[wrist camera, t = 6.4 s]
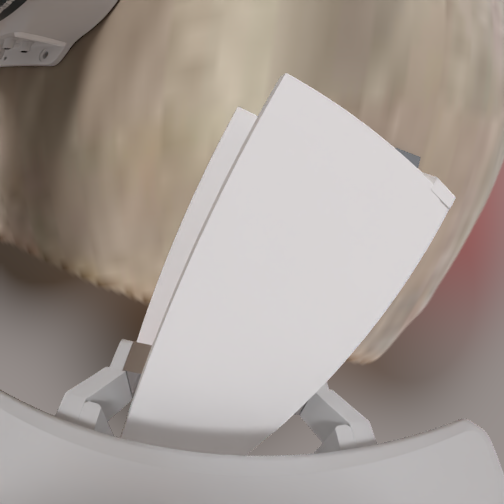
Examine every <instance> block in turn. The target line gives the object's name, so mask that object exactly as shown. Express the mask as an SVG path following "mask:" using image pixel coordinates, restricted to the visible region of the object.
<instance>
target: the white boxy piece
mask: <svg viewBox="0 0 504 504" xmlns="http://www.w3.org/2000/svg"><path fill="white" fill-rule="evenodd" d="M455 198H456V197H455V196H454V195H453V194H452V193H451V192H450V191H449V189H448V188H447V187H446V186H445V185H444V184H443V183H442V182H441V181H440V180H439V179H438V178H437V177H434V176H432V175H429V174H426V173H423V172H421V171H420V170H419V169H418V168H417V167H415V166H414V165H413V164H412V163H411V162H410V161H409V160H408V159H407V158H406V157H404V156H403V155H402V154H401V153H400V152H399V151H398V150H396V149H395V148H394V147H393V146H392V145H391V144H389V143H388V142H387V141H386V140H384V139H383V138H382V137H381V136H380V135H378V134H377V133H376V132H374V131H373V130H372V129H371V128H369V127H368V126H367V125H365V124H364V123H363V122H361V121H360V120H359V119H357V118H356V117H355V116H353V115H352V114H350V113H349V112H348V111H346V110H345V109H343V108H342V107H340V106H339V105H338V104H336V103H335V102H333V101H332V100H330V99H329V98H327V97H326V96H324V95H322V94H321V93H319V92H318V91H316V90H314V89H313V88H311V87H310V86H308V85H306V84H305V83H303V82H301V81H300V80H298V79H296V78H294V77H293V76H291V75H289V74H287V73H285V74H283V75H282V76H280V78H279V80H278V82H277V83H276V85H275V87H274V89H273V90H272V92H271V94H270V96H269V97H268V99H267V101H266V103H265V104H264V106H263V108H262V110H261V112H260V113H259V115H258V116H256V115H254V114H252V113H250V112H248V111H246V110H244V109H242V108H240V107H237V109H236V111H235V113H234V115H233V117H232V118H231V120H230V122H229V124H228V126H227V128H226V130H225V132H224V134H223V136H222V137H221V139H220V141H219V143H218V145H217V147H216V149H215V151H214V153H213V155H212V157H211V159H210V161H209V163H208V166H207V168H206V170H205V172H204V174H203V176H202V178H201V180H200V182H199V185H198V187H197V189H196V191H195V193H194V195H193V198H192V200H191V202H190V204H189V206H188V209H187V211H186V213H185V216H184V218H183V220H182V222H181V225H180V227H179V230H178V232H177V234H176V237H175V239H174V241H173V244H172V246H171V249H170V251H169V254H168V256H167V259H166V261H165V264H164V266H163V269H162V272H161V274H160V277H159V279H158V282H157V285H156V287H155V290H154V293H153V295H152V298H151V301H150V304H149V307H148V309H147V312H146V315H145V318H144V321H143V324H142V327H141V330H140V333H139V336H138V339H137V342H139V343H143V344H148V345H152V347H151V350H150V352H149V355H148V358H147V360H146V363H145V366H144V368H143V371H142V374H141V377H140V380H139V382H138V385H137V388H136V391H135V394H134V397H133V400H132V403H131V406H130V409H129V412H128V415H127V418H126V421H125V424H124V427H123V430H122V433H121V437H120V438H123V439H127V440H131V441H135V442H140V443H144V444H149V445H154V446H159V447H165V448H171V449H177V450H184V451H192V452H201V453H211V454H223V455H243V456H246V455H247V454H248V453H250V452H251V451H252V450H253V449H255V448H256V447H257V446H258V445H260V444H261V443H262V442H263V441H264V440H265V439H267V438H268V437H269V436H270V435H271V434H273V433H274V432H275V431H276V430H277V429H278V428H279V427H280V426H281V425H283V424H284V423H285V422H286V421H287V420H288V419H289V418H290V417H291V416H292V415H294V414H295V413H296V412H297V411H298V410H299V409H300V408H301V407H302V406H303V405H304V404H305V403H306V402H307V401H308V400H309V399H310V398H311V397H312V396H313V395H314V394H315V393H316V392H317V391H318V390H319V389H320V388H321V387H322V386H323V385H324V384H325V383H326V382H327V381H328V379H329V378H330V377H331V376H332V375H333V374H334V373H335V372H336V371H337V370H338V369H339V367H340V366H341V365H342V364H343V363H344V362H345V361H346V360H347V358H348V357H349V356H350V355H351V354H352V353H353V351H354V350H355V349H356V348H357V347H358V345H359V344H360V343H361V342H362V341H363V339H364V338H365V337H366V336H367V334H368V333H369V332H370V331H371V329H372V328H373V327H374V326H375V324H376V323H377V322H378V320H379V319H380V318H381V316H382V315H383V314H384V312H385V311H386V310H387V308H388V307H389V306H390V304H391V303H392V301H393V300H394V299H395V297H396V296H397V294H398V293H399V292H400V290H401V289H402V287H403V286H404V284H405V283H406V281H407V280H408V278H409V277H410V275H411V274H412V272H413V271H414V269H415V268H416V266H417V264H418V263H419V261H420V260H421V258H422V256H423V255H424V253H425V251H426V250H427V248H428V246H429V245H430V243H431V241H432V240H433V238H434V236H435V234H436V233H437V231H438V229H439V227H440V225H441V224H442V222H443V220H444V218H445V216H446V214H447V212H448V210H449V209H450V208H451V206H452V204H453V202H454V200H455Z"/></svg>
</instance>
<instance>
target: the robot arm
mask: <svg viewBox="0 0 504 504" xmlns="http://www.w3.org/2000/svg"><path fill="white" fill-rule="evenodd" d="M117 1H118V0H0V67H7V66H55V65H57V64H58V63H59V62H60V61H61V60H62V59H63V57H64V56H65V55H66V53H67V52H68V50H69V49H70V48H71V46H72V45H73V44H74V43H75V42H76V41H77V40H78V39H79V38H80V37H82V36H83V35H84V34H86V33H87V32H88V31H90V30H91V29H92V28H93V27H94V26H95V25H97V24H98V23H99V22H100V21H101V20H102V19H103V18H104V17H105V16H106V15H107V14H108V12H109V11H110V10H111V9H112V8H113V6H114V5H115V4H116V2H117ZM47 54H48V56H47V57H46V55H47ZM151 347H152V345H148V344H143V343H139V342H133V341H129V340H124V339H122V340H121V342H120V344H119V346H118V348H117V351H116V353H115V355H114V358H113V360H112V362H111V365H110V367H105V368H103V369H102V370H100V371H99V372H97V373H96V374H94V375H93V376H91V377H89V378H88V379H86V380H84V381H83V382H81V383H80V384H78V385H77V386H75V387H74V388H72V389H70V390H69V391H67V392H66V393H65V395H64V397H63V400H62V402H61V404H60V406H59V408H58V411H57V413H56V415H55V416H53V415H51V414H48V413H46V412H44V411H42V410H40V409H37V408H35V407H33V406H31V405H29V404H27V403H25V402H22V401H20V400H19V399H16V398H15V397H13V396H11V395H9V394H7V393H5V392H4V391H2V390H0V504H504V474H503V471H502V468H501V465H500V463H499V460H498V457H497V454H496V452H495V449H494V447H493V444H492V442H491V440H490V438H489V436H488V434H487V433H486V432H485V431H484V430H483V429H482V428H481V427H479V426H478V425H476V424H475V423H473V422H472V421H470V420H468V419H460V420H457V421H454V422H452V423H449V424H446V425H443V426H441V427H438V428H435V429H432V430H429V431H426V432H422V433H419V434H416V435H413V436H408V437H405V438H401V439H397V440H393V441H389V442H384V443H380V444H377V442H376V440H375V436H374V434H373V431H372V428H371V425H370V422H369V421H368V420H367V419H366V418H365V417H364V416H362V415H361V414H360V413H359V412H358V411H356V410H355V409H354V408H353V407H352V406H351V405H349V404H348V403H347V402H346V401H345V400H344V399H342V398H341V397H340V396H339V395H338V394H336V393H335V392H334V391H333V390H329V387H328V384H327V382H326V383H325V384H324V385H323V386H322V387H321V388H320V389H319V390H318V391H317V392H316V393H315V394H314V395H313V396H312V397H311V398H310V399H309V400H308V401H307V402H306V403H305V404H304V405H303V406H302V407H301V408H300V409H299V410H298V411H297V412H296V413H295V415H296V414H297V415H298V414H299V415H300V417H301V418H302V419H303V420H304V421H305V423H306V424H307V425H308V426H309V427H310V429H311V430H312V431H313V432H314V433H315V435H316V436H317V437H318V438H319V439H320V440H321V441H322V445H321V446H320V447H319V448H318V449H317V450H316V451H315V452H314V454H302V455H283V456H243V455H223V454H211V453H201V452H192V451H184V450H177V449H171V448H165V447H159V446H154V445H149V444H144V443H140V442H135V441H131V440H127V439H123V438H119V437H115V436H114V435H113V432H112V430H111V428H110V426H109V424H108V421H109V420H110V419H111V418H112V417H113V416H115V415H116V414H117V413H118V412H119V411H120V410H121V409H122V408H123V407H125V406H126V405H127V404H128V403H129V402H130V401H131V400H132V398H133V397H134V394H135V391H136V388H137V385H138V382H139V380H140V377H141V374H142V371H143V368H144V366H145V363H146V360H147V358H148V355H149V352H150V350H151Z"/></svg>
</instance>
